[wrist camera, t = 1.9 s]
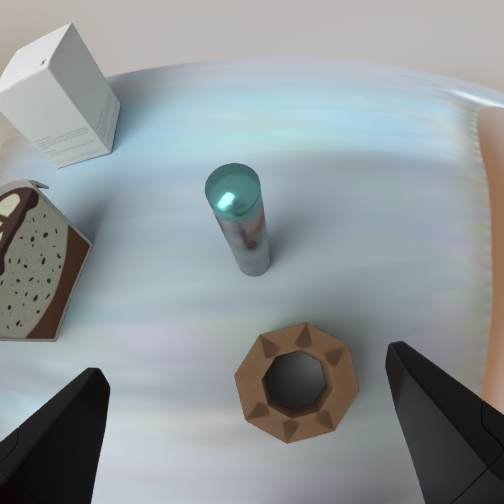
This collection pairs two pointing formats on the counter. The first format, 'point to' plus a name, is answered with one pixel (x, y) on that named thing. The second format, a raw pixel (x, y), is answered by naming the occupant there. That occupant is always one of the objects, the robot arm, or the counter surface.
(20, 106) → the supplement box
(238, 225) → the teal-capped metal tube
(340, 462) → the counter surface
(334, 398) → the brown octagonal ring
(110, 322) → the counter surface
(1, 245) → the food container
